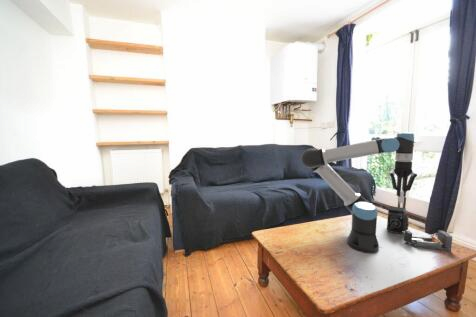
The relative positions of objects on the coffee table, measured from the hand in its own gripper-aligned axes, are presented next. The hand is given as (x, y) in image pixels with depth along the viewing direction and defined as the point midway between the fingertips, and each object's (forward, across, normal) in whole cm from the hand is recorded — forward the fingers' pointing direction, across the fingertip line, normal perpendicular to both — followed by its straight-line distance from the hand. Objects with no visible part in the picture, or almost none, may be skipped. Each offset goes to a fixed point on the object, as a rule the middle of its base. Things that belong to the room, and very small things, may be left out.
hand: (400, 202), depth 120 cm
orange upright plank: (+22, +17, -1) cm, 28 cm away
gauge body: (+24, +14, -1) cm, 27 cm away
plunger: (+22, +7, -1) cm, 23 cm away
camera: (+24, +4, +14) cm, 28 cm away
